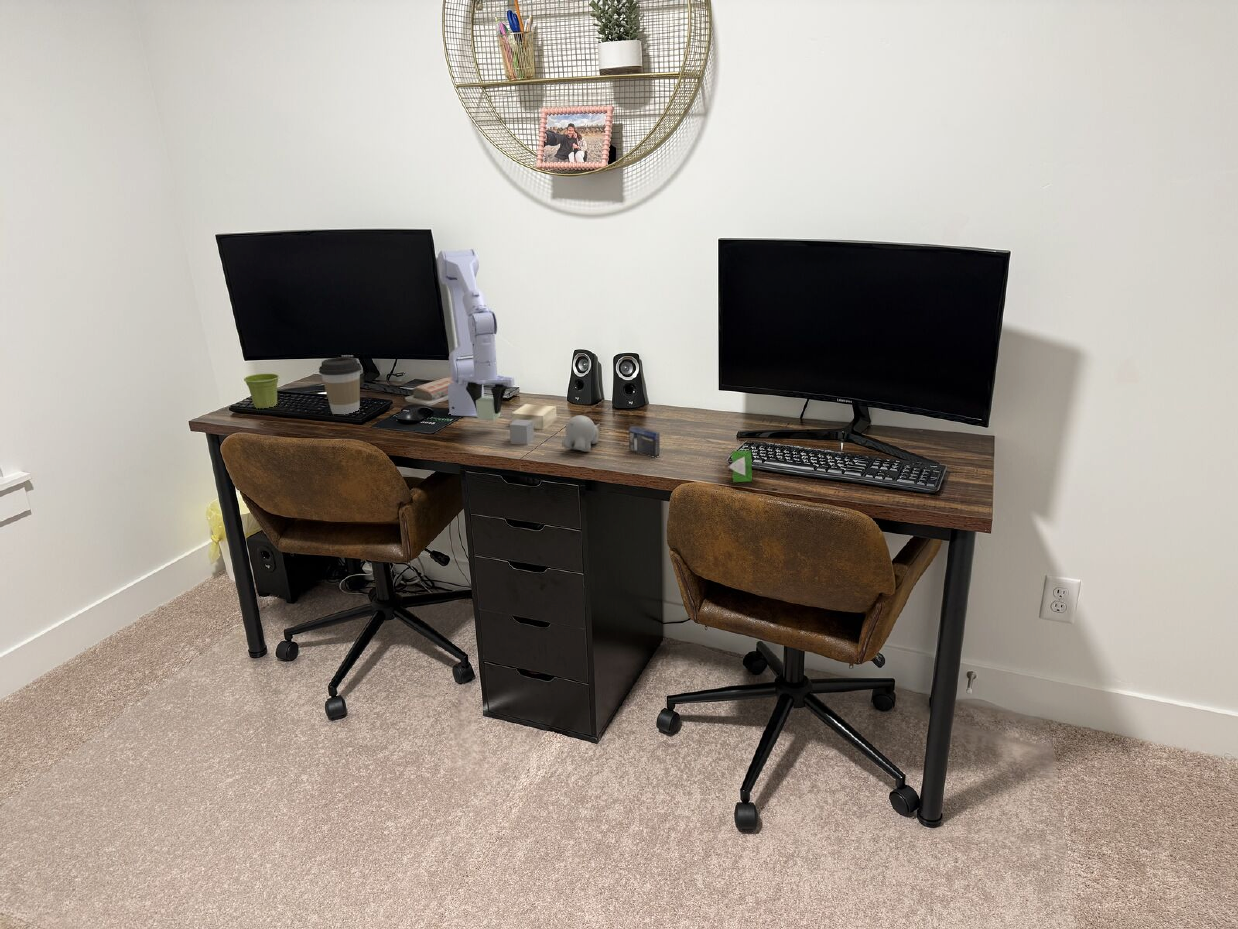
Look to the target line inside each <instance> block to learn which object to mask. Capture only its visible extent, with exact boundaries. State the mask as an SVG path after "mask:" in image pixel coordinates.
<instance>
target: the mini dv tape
mask: <svg viewBox="0 0 1238 929" xmlns="http://www.w3.org/2000/svg"><path fill="white" fill-rule="evenodd" d="M660 437H661V436H660V432H659V431H655V430H650V429H647V428H643V427H639V426H637V425H636V426H635V425H631V426H629V430H628V451H629V450H630V451H629V452H632V451H634V452H633V453H636V452H639V453H642V454H641V455H643V454H645V455H644V456H646V455H650V456H654V457H656V458H658V457H657V456H659V455H660V442H661V441H660ZM639 453H638V454H639ZM650 456H649V457H650ZM654 457H653V458H654ZM659 457H660V456H659Z"/></svg>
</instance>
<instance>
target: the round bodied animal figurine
mask: <svg viewBox="0 0 1238 929" xmlns="http://www.w3.org/2000/svg"><path fill="white" fill-rule="evenodd" d="M599 428H600V423H597V424H595V423H594V422H593V420H592V419H591V418H590V417H588V416H586V415H582V414H580V415H579V414H578V415H575V416H573V417H571V418H570V419H569V420H568V422H567V423H566V426H565V437H564V438H563V440H562V441H561V446H562V447H563V448H565V449H569V450H570V449H571V450H575V451H577V450H579V451H581V452H585V453H589V452H591V448H592V447H591V445H594V444H596V443H598V441H599V435H600V430H599Z"/></svg>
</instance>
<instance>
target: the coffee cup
mask: <svg viewBox="0 0 1238 929" xmlns="http://www.w3.org/2000/svg"><path fill="white" fill-rule="evenodd" d="M318 370H319V371H318V373H319V374H321V378H322V381H323V385H324V390H325V393H326V396H327V399H328V400H327V401H328V403H329V407H330V411H331V413H332V415H333V414H349V413H353V412H355V411H358V410H359V411H360V409H361V408H360V401H361V399H360V393H361V391H360V387H361V385H360V384H361V383H360V382H361V379H360V378H361V376H360V375H361V374H360V373H361V372H360V371H361V370H362V366H361V364H360V363H359V362H358V360H357V359H356V358H355V357H351V356H338V357H333V358H327V359H325V360H322V361H321V364H320V366H319V368H318ZM359 408H360V409H359Z"/></svg>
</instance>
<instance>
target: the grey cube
mask: <svg viewBox="0 0 1238 929" xmlns="http://www.w3.org/2000/svg"><path fill="white" fill-rule="evenodd" d="M534 432H535V430H534V428H533V420H519V419H516V420H515V421H514V422H512V421H511V423H510V424H509V437H510V438H509V439H510V444H512V445H514V444H515V445H526V446H528V445H529V444H531V442H532V441H534V440H535V433H534Z"/></svg>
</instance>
